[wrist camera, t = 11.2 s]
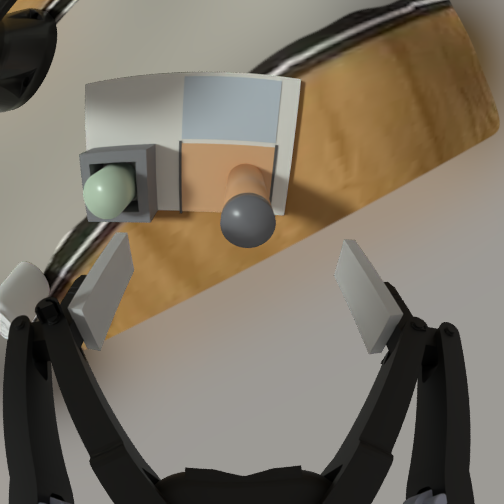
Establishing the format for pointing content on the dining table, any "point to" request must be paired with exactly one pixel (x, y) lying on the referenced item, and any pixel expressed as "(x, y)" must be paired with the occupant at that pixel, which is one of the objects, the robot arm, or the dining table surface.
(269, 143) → the board
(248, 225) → the marker
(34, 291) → the beverage can
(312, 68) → the dining table surface
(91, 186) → the button
